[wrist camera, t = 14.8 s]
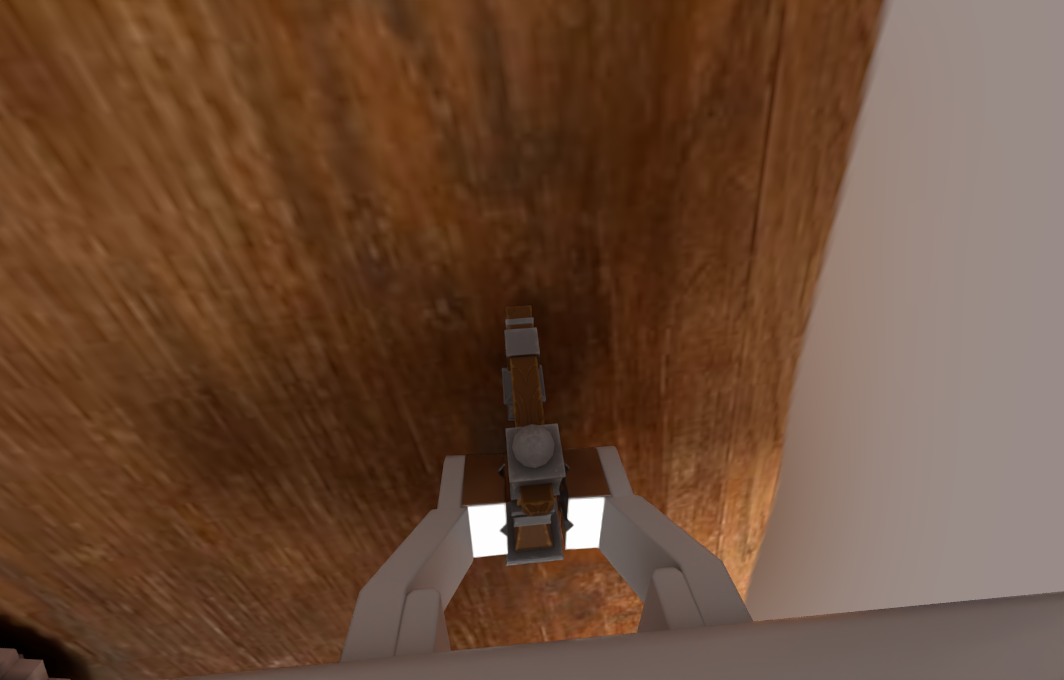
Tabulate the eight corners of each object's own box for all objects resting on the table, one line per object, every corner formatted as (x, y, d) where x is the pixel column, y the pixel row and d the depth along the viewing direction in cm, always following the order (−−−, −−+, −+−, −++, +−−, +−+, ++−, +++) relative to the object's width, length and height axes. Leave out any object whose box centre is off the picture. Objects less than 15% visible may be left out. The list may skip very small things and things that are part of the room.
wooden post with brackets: (559, 274, 9) (598, 485, 6) (547, 430, 15) (564, 567, 12) (475, 280, 9) (477, 496, 6) (499, 434, 15) (506, 573, 12)
